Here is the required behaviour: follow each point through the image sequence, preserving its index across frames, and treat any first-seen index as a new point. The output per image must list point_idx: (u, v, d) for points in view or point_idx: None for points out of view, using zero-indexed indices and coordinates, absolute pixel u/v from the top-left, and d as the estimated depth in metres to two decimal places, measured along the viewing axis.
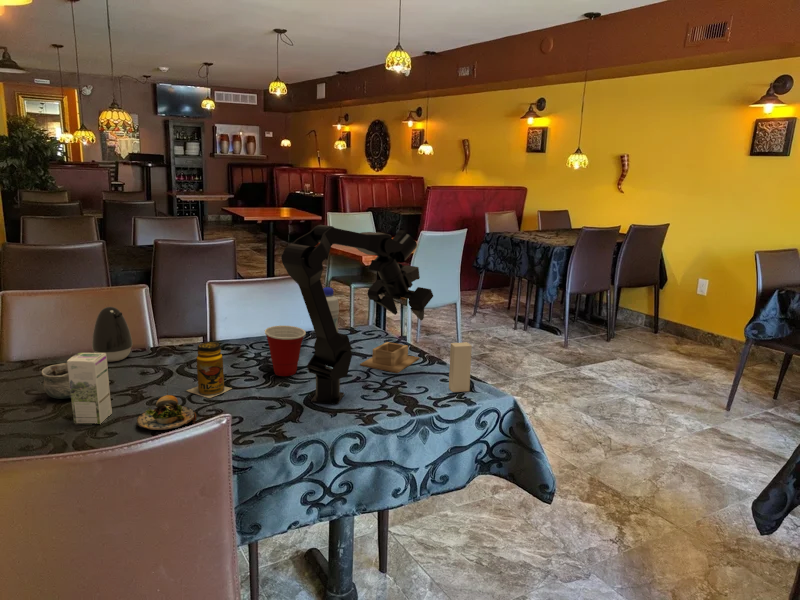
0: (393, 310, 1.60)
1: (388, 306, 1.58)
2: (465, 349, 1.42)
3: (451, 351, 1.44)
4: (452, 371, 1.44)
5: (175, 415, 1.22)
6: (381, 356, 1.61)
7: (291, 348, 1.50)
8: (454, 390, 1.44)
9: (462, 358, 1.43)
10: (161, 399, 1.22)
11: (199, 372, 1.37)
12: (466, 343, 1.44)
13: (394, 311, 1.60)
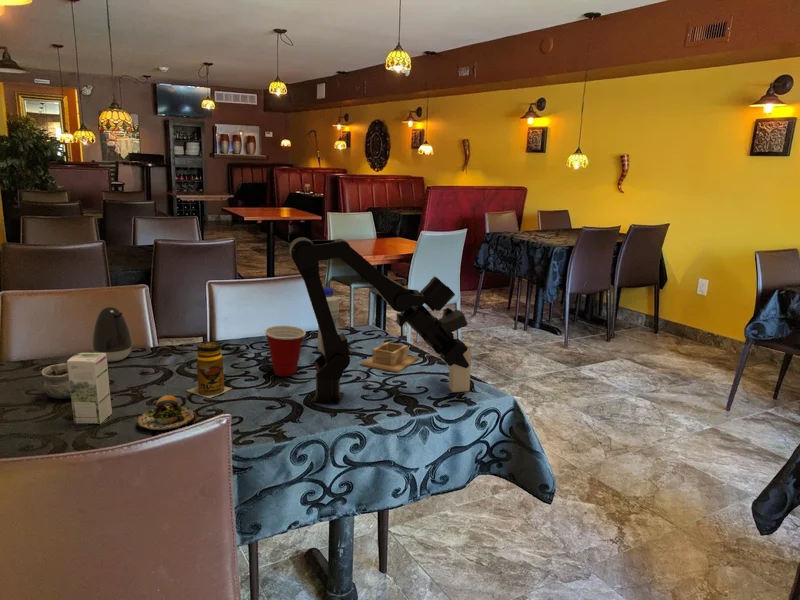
0: None
1: None
2: None
3: None
4: (452, 371, 1.44)
5: (175, 415, 1.22)
6: (381, 356, 1.61)
7: (291, 348, 1.50)
8: (454, 390, 1.44)
9: None
10: (161, 399, 1.22)
11: (199, 372, 1.37)
12: (466, 343, 1.44)
13: None
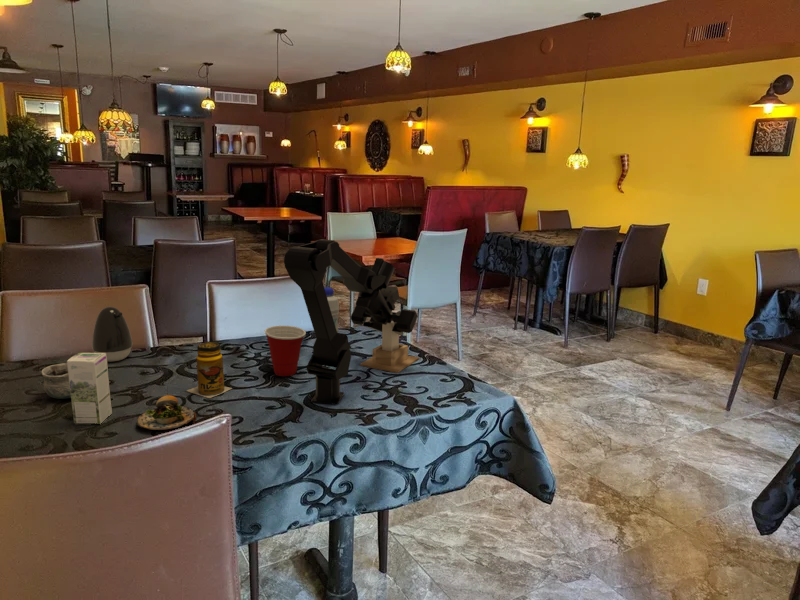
0: None
1: (378, 327, 1.62)
2: None
3: (384, 328, 1.61)
4: (389, 345, 1.62)
5: (175, 415, 1.22)
6: (381, 356, 1.61)
7: (291, 348, 1.50)
8: None
9: None
10: (161, 399, 1.22)
11: (199, 372, 1.37)
12: None
13: None
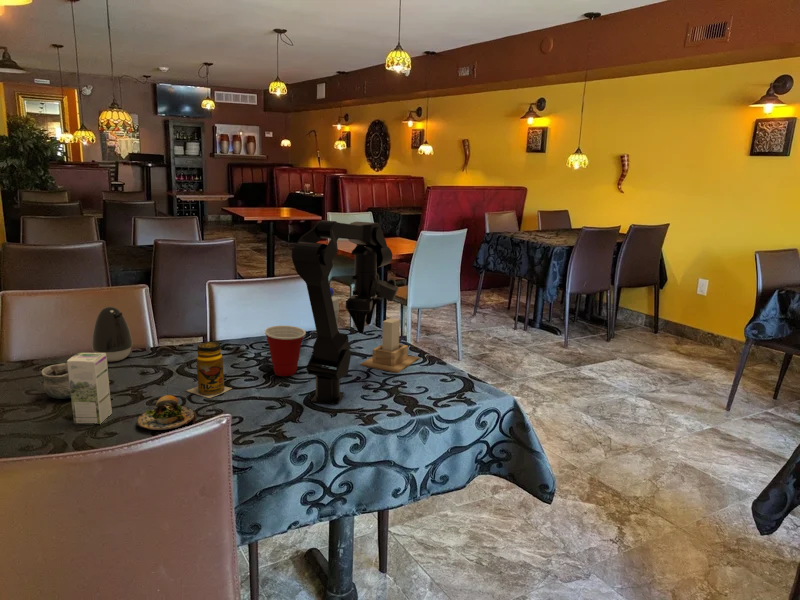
0: (366, 317, 1.56)
1: None
2: (397, 323, 1.63)
3: (385, 328, 1.61)
4: (389, 345, 1.62)
5: (175, 415, 1.22)
6: (381, 356, 1.61)
7: (291, 348, 1.50)
8: None
9: (395, 331, 1.62)
10: (161, 399, 1.22)
11: (199, 372, 1.37)
12: (392, 318, 1.64)
13: (366, 320, 1.56)
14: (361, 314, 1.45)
